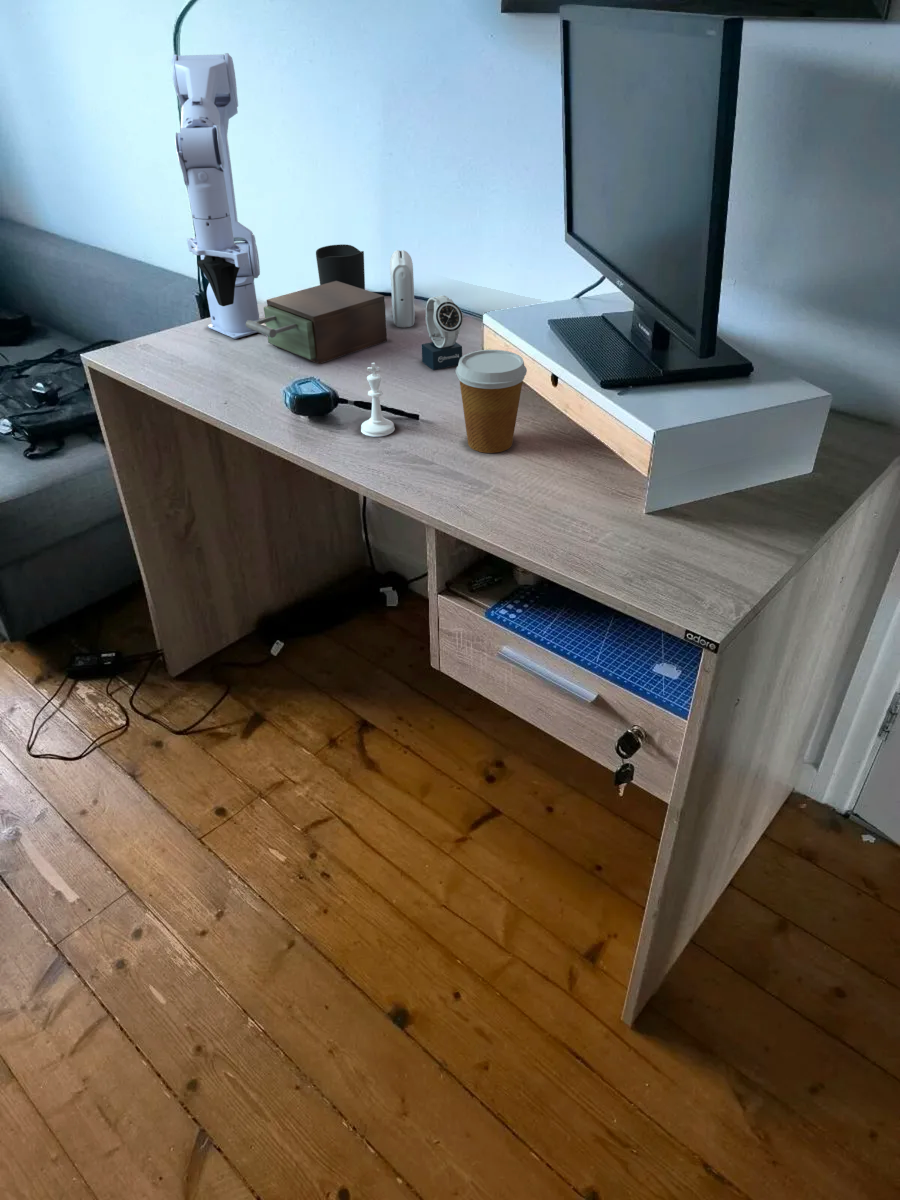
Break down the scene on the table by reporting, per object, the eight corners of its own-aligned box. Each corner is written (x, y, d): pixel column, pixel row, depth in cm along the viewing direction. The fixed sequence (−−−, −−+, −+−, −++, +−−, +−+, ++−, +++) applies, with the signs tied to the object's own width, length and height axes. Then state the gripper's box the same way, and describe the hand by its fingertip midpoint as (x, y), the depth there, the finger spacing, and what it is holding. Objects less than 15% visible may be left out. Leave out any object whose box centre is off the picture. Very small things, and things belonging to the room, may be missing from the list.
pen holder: (315, 308, 171) (309, 256, 165) (328, 294, 178) (323, 243, 172) (360, 310, 170) (356, 257, 164) (371, 295, 177) (368, 245, 171)
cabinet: (319, 364, 146) (313, 316, 141) (272, 345, 154) (266, 299, 149) (387, 341, 155) (384, 295, 150) (340, 324, 163) (336, 280, 158)
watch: (438, 374, 142) (437, 307, 135) (417, 358, 148) (415, 294, 141) (468, 367, 144) (468, 301, 137) (446, 352, 150) (445, 288, 143)
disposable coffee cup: (446, 452, 118) (445, 369, 111) (469, 425, 126) (469, 345, 118) (512, 463, 116) (514, 378, 108) (532, 434, 123) (535, 352, 116)
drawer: (283, 369, 142) (278, 331, 138) (241, 350, 149) (235, 314, 146) (375, 338, 154) (372, 303, 150) (332, 323, 161) (328, 288, 157)
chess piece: (360, 423, 127) (355, 357, 121) (394, 421, 127) (390, 356, 121) (360, 437, 123) (355, 370, 117) (395, 436, 123) (391, 369, 117)
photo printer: (416, 327, 161) (413, 259, 153) (393, 328, 160) (389, 260, 153) (413, 310, 169) (411, 244, 162) (392, 311, 169) (388, 245, 161)
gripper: (164, 212, 134) (181, 300, 142) (214, 227, 126) (229, 319, 134) (203, 205, 138) (218, 291, 146) (254, 219, 129) (267, 309, 138)
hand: (226, 304), depth 140 cm, fingers closed
